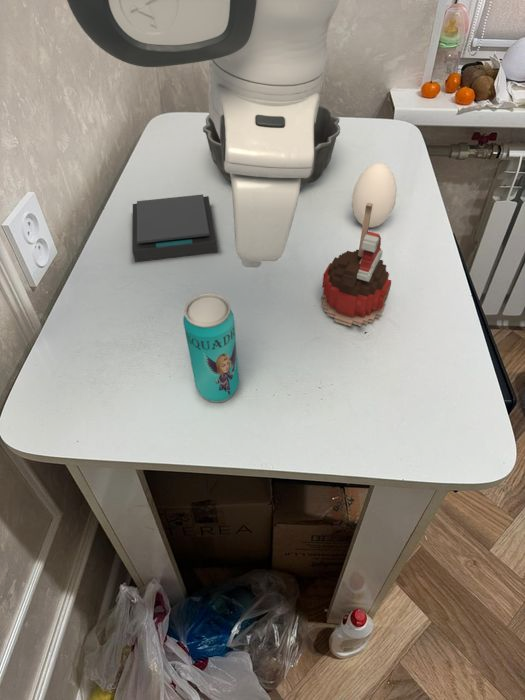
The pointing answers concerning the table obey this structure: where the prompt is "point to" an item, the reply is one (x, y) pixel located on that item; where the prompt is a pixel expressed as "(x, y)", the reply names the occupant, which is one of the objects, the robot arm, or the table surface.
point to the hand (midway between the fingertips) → (249, 229)
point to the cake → (357, 281)
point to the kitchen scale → (172, 228)
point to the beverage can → (212, 346)
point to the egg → (374, 194)
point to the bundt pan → (323, 150)
